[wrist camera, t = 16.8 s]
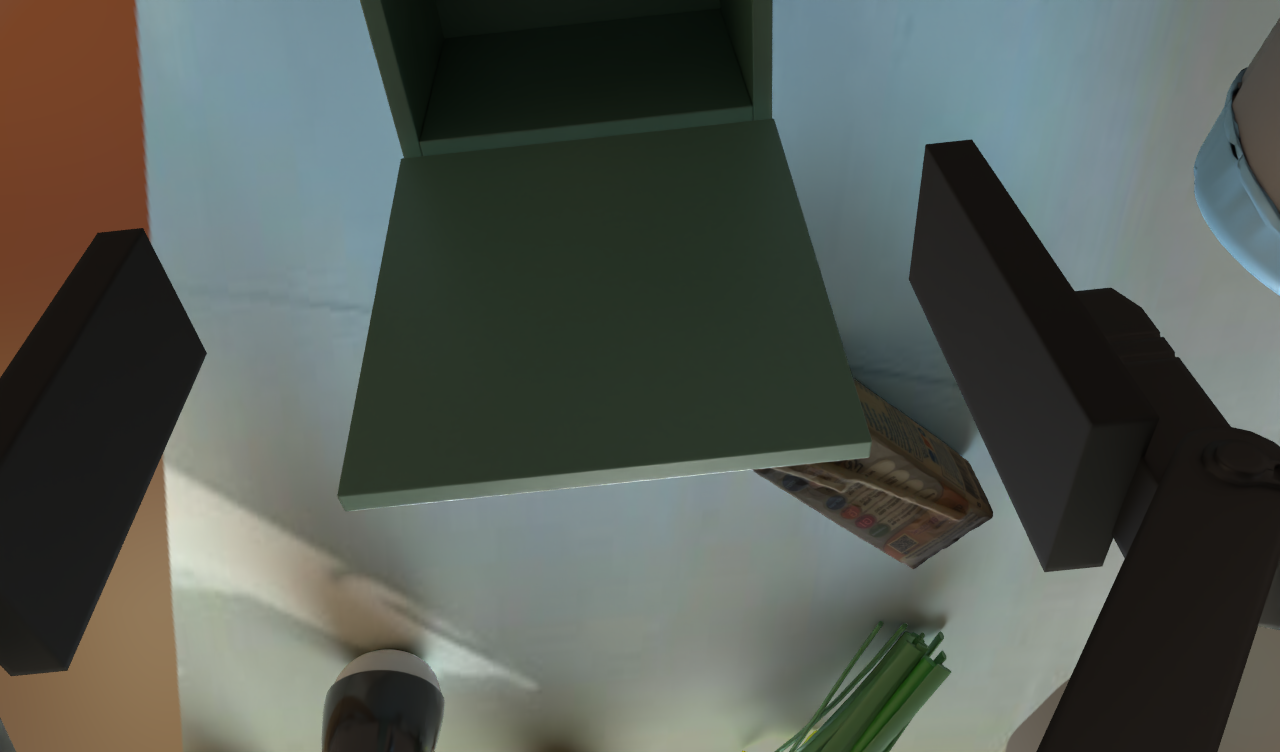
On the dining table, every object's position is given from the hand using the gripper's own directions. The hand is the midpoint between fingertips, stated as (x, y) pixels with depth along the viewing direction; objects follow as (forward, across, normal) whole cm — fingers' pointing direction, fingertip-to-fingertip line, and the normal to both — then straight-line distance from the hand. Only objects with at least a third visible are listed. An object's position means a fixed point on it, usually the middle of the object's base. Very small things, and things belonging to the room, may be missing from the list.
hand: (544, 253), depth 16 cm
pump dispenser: (+35, -25, -65) cm, 78 cm away
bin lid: (+14, 0, -10) cm, 17 cm away
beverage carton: (+35, +16, -41) cm, 56 cm away
